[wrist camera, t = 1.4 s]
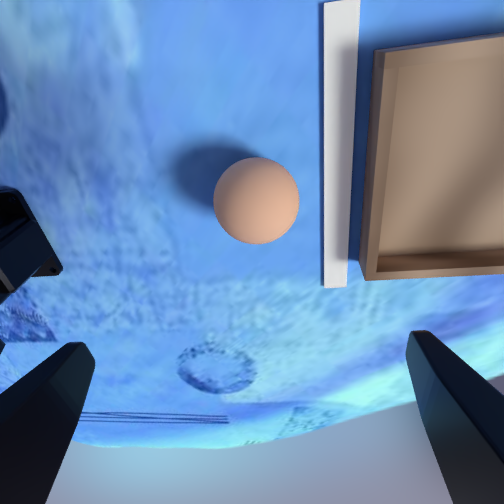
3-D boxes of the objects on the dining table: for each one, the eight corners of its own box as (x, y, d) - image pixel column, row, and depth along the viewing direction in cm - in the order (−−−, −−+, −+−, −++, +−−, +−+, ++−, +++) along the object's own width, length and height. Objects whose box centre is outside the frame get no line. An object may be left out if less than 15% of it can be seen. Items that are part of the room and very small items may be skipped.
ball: (227, 221, 20) (215, 263, 17) (213, 150, 18) (196, 181, 14) (299, 215, 20) (303, 258, 16) (295, 141, 17) (299, 171, 14)
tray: (358, 261, 21) (365, 280, 20) (373, 50, 15) (385, 52, 13) (559, 250, 20) (584, 269, 18) (678, 8, 13) (734, 5, 12)
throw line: (324, 286, 23) (324, 288, 23) (323, 3, 14) (324, 2, 14) (345, 285, 23) (346, 287, 22) (359, -3, 14) (360, -3, 14)
